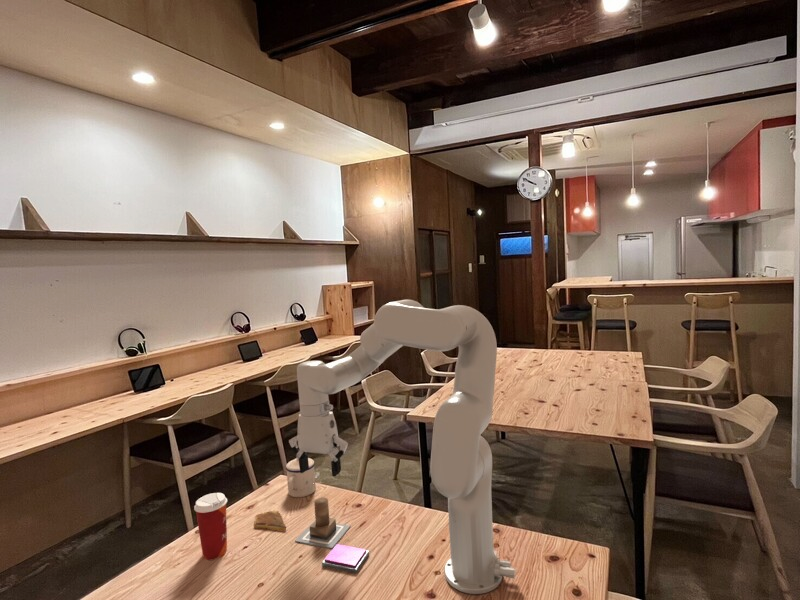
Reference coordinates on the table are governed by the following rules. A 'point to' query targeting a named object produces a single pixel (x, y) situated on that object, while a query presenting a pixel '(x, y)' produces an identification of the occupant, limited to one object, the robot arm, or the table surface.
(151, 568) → the table surface
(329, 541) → the marked card
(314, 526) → the stamp
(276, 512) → the shard
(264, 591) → the table surface
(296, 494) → the teacup with lid
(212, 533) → the paper cup
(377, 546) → the table surface
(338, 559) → the ink pad
